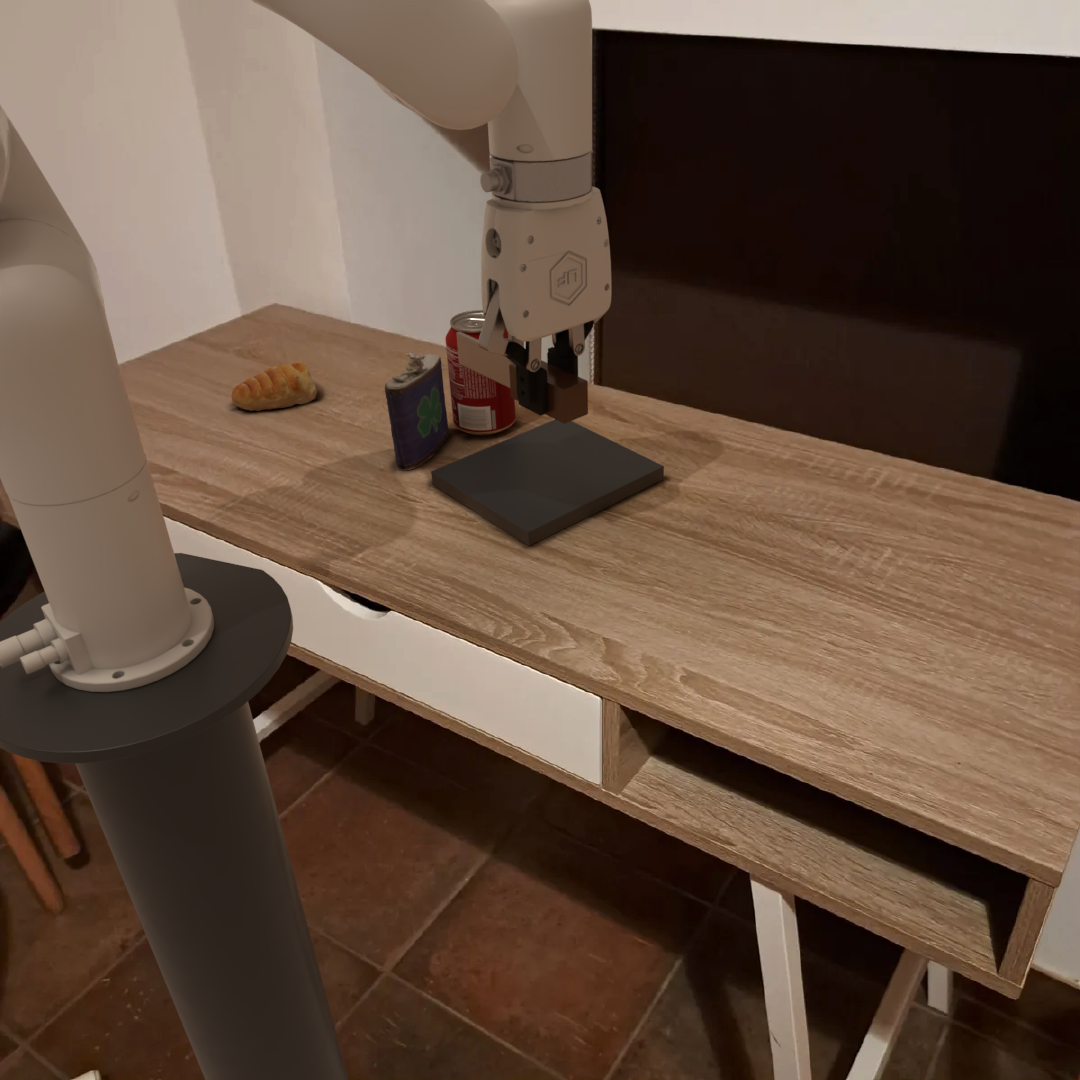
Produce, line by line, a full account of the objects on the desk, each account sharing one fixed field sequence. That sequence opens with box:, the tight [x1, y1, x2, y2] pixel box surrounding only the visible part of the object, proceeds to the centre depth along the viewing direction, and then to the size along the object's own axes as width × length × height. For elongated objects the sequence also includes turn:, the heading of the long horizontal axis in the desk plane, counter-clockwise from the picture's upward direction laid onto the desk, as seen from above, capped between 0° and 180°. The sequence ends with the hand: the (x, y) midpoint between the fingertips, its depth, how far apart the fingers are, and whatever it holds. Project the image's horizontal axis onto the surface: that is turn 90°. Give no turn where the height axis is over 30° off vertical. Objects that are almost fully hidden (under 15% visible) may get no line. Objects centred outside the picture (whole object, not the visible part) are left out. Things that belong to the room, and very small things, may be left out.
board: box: [430, 419, 665, 547], centre depth 98 cm, size 17×15×2 cm
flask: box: [384, 351, 449, 471], centre depth 102 cm, size 9×3×11 cm, turn 157°
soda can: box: [444, 309, 517, 437], centre depth 106 cm, size 7×7×12 cm
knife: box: [456, 332, 589, 424], centre depth 87 cm, size 16×3×3 cm, turn 40°
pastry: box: [231, 359, 318, 412], centre depth 116 cm, size 9×7×4 cm
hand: (548, 401), depth 85 cm, fingers closed on knife, 2 cm apart
